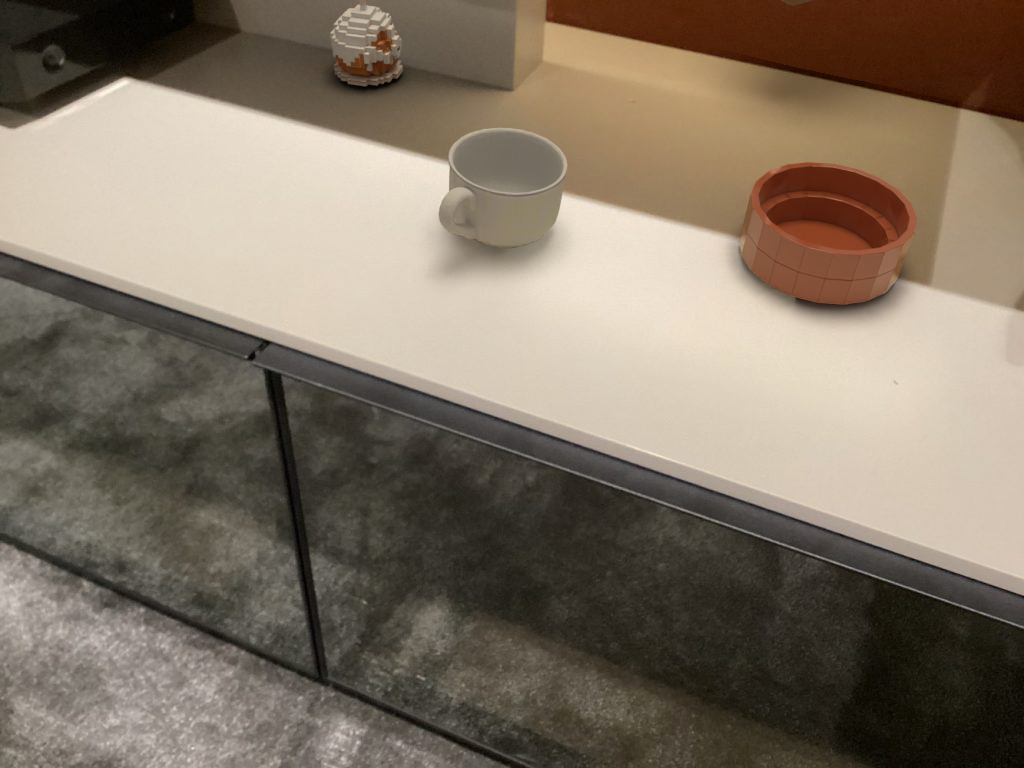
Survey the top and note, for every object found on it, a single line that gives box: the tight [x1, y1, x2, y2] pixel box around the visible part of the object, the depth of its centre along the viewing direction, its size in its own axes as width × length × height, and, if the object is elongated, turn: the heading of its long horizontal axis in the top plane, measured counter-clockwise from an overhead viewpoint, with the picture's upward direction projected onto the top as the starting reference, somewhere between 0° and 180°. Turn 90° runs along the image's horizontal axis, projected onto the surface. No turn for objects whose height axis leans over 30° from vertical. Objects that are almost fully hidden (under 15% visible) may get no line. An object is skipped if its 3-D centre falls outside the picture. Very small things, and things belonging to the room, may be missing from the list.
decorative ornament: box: [329, 0, 404, 87], centre depth 108 cm, size 8×8×15 cm
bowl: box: [739, 161, 918, 306], centre depth 88 cm, size 14×14×6 cm
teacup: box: [438, 127, 569, 249], centre depth 89 cm, size 14×11×8 cm
